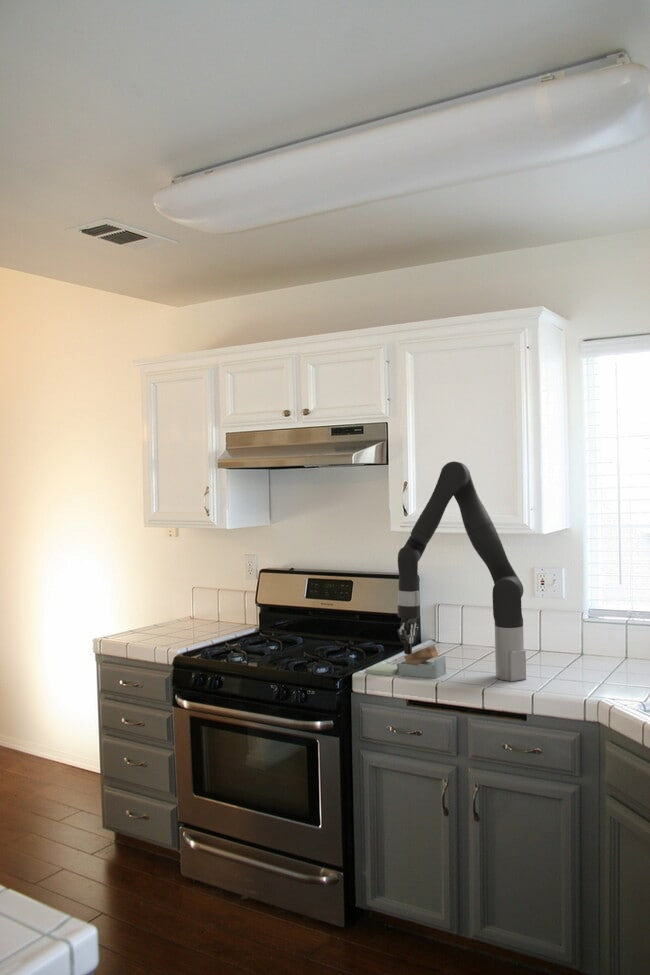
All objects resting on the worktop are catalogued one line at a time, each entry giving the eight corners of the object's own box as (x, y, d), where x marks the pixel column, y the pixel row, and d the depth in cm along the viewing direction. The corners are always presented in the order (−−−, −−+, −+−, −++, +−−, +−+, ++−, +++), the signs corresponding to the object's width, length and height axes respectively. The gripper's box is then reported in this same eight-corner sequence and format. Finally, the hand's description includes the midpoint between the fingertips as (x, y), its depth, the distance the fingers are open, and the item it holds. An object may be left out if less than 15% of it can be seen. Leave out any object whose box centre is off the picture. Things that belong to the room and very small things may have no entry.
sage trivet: (404, 669, 292) (404, 666, 292) (391, 675, 283) (391, 671, 283) (378, 666, 297) (378, 663, 297) (365, 672, 289) (365, 669, 289)
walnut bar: (438, 655, 284) (433, 644, 285) (433, 658, 280) (428, 646, 281) (414, 665, 289) (409, 654, 289) (408, 667, 285) (404, 656, 286)
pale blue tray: (445, 673, 284) (445, 655, 284) (436, 678, 278) (435, 660, 278) (407, 669, 292) (406, 652, 292) (397, 674, 285) (396, 656, 285)
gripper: (410, 607, 279) (409, 659, 280) (426, 602, 290) (426, 651, 291) (390, 605, 283) (389, 656, 284) (407, 600, 294) (406, 649, 295)
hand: (408, 653), depth 287 cm, fingers closed
